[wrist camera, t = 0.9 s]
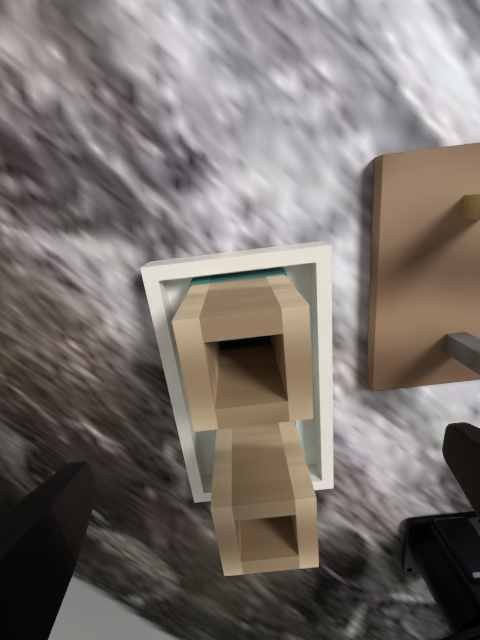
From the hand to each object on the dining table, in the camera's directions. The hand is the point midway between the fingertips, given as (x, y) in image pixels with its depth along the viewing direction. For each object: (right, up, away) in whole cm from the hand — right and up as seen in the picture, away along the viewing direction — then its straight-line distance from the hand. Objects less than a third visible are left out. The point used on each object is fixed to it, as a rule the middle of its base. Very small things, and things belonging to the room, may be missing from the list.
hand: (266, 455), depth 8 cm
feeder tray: (0, 0, +13) cm, 13 cm away
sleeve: (+1, -5, +14) cm, 15 cm away
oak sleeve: (-1, +4, +11) cm, 11 cm away
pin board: (+12, +6, +11) cm, 17 cm away
